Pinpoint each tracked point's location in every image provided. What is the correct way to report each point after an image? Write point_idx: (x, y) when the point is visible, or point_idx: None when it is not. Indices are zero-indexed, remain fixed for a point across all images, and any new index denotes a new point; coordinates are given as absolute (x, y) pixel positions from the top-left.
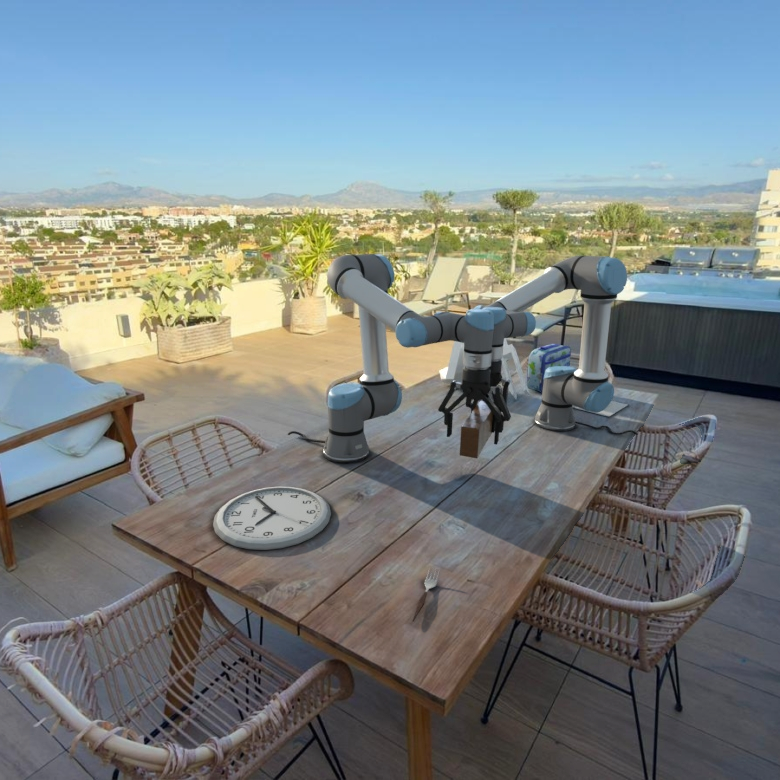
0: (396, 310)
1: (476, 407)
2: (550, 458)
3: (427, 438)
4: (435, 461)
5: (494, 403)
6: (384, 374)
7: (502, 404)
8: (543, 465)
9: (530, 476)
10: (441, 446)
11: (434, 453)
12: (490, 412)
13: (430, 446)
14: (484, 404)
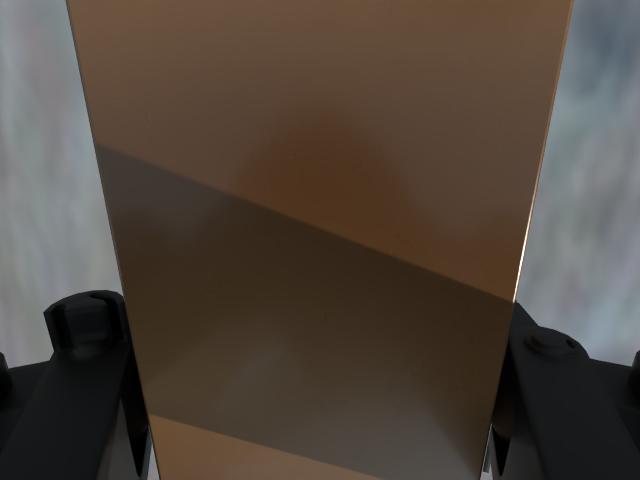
0: None
1: (502, 234)
2: (39, 355)
3: (636, 351)
4: (574, 93)
5: (84, 471)
6: None
7: None
8: (38, 273)
9: (45, 121)
10: (557, 291)
11: (588, 195)
12: (79, 33)
13: (615, 270)
14: (355, 464)
